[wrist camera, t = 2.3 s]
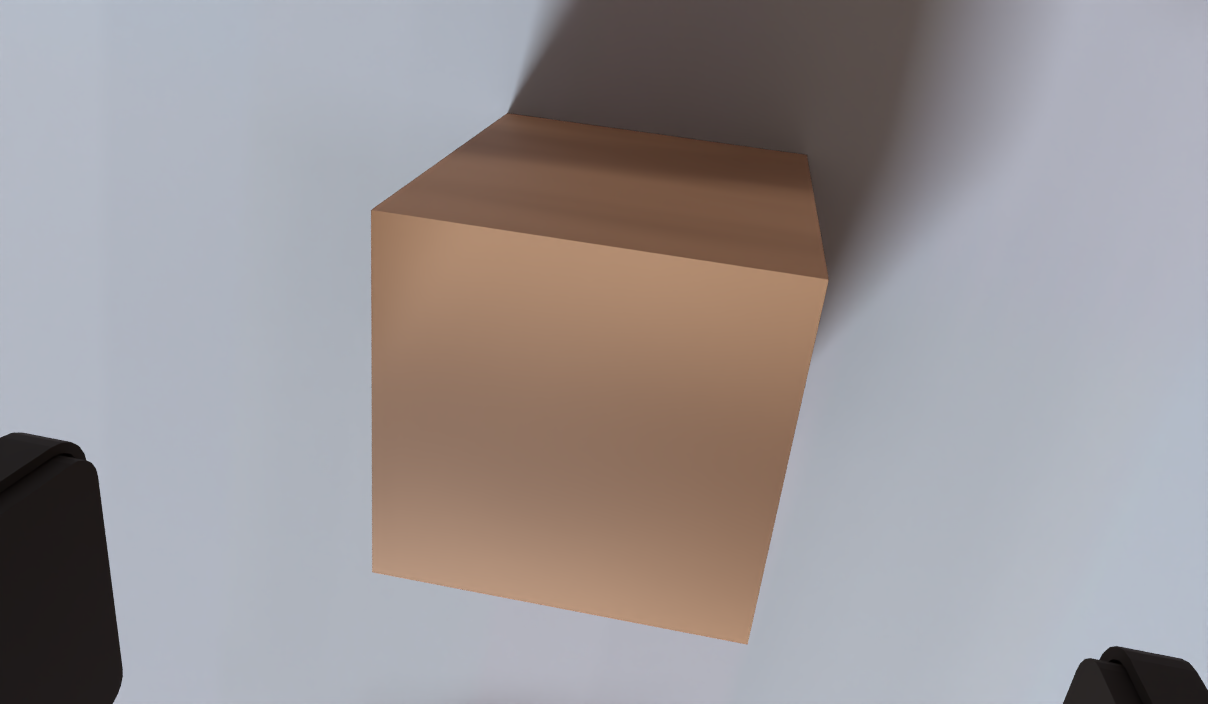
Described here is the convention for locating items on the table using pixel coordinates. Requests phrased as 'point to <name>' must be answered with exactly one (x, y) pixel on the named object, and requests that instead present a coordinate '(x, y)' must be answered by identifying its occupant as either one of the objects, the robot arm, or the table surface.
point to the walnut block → (592, 369)
